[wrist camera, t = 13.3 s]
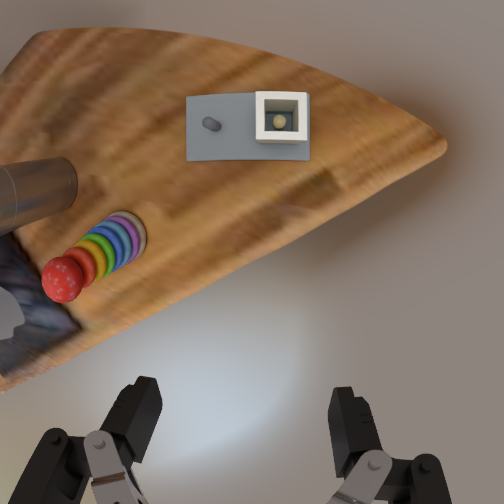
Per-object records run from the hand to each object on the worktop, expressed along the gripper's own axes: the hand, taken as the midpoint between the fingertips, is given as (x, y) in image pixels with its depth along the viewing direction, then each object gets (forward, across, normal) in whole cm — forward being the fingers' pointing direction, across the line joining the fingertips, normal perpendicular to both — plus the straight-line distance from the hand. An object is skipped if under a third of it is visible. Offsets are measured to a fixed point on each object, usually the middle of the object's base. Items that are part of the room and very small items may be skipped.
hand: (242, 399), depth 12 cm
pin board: (+30, +2, -14) cm, 33 cm away
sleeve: (+29, -2, -14) cm, 32 cm away
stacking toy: (+30, +21, +1) cm, 37 cm away
